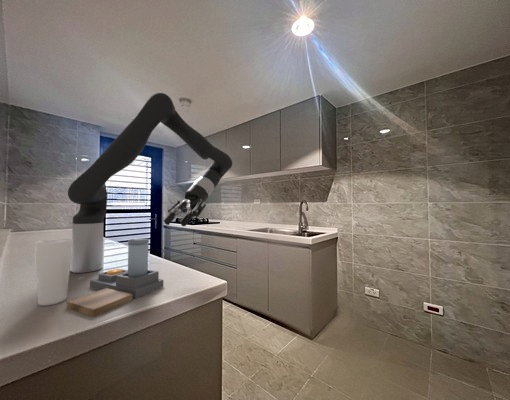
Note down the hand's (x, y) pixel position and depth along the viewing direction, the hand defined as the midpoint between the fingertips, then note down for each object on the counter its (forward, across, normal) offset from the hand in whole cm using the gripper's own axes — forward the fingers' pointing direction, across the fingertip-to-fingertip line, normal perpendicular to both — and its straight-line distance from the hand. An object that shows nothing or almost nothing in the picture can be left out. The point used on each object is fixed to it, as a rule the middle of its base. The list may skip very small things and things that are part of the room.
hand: (173, 224), depth 72 cm
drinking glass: (+32, -9, -7) cm, 34 cm away
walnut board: (+28, +2, -3) cm, 28 cm away
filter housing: (+21, -4, +4) cm, 22 cm away
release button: (+20, -10, +2) cm, 23 cm away
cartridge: (+19, 0, +3) cm, 20 cm away
